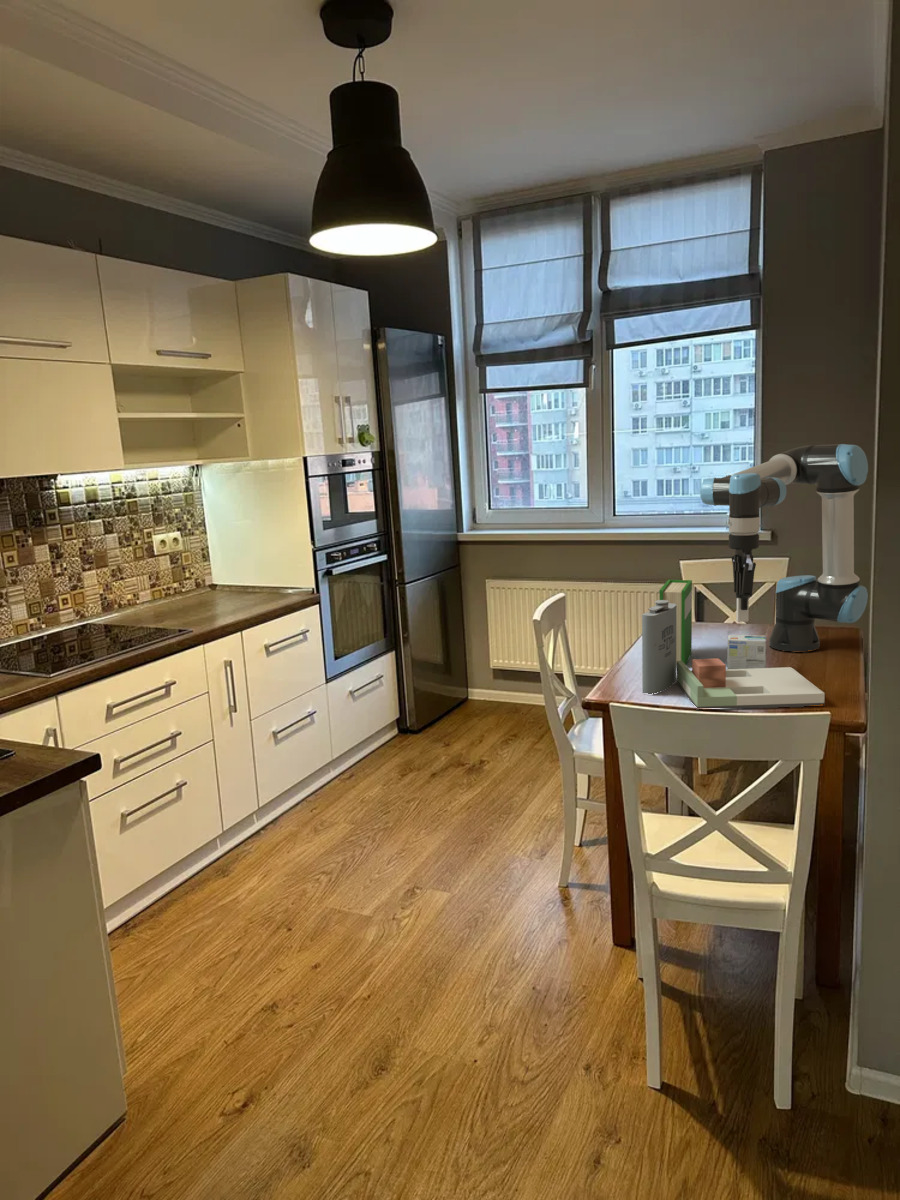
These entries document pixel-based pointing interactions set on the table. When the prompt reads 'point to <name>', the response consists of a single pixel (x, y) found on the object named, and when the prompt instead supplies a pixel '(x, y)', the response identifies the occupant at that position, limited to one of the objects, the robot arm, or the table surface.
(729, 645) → the light bulb box
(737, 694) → the box
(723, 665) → the block
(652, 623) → the flask
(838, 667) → the table surface
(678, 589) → the hardback book
